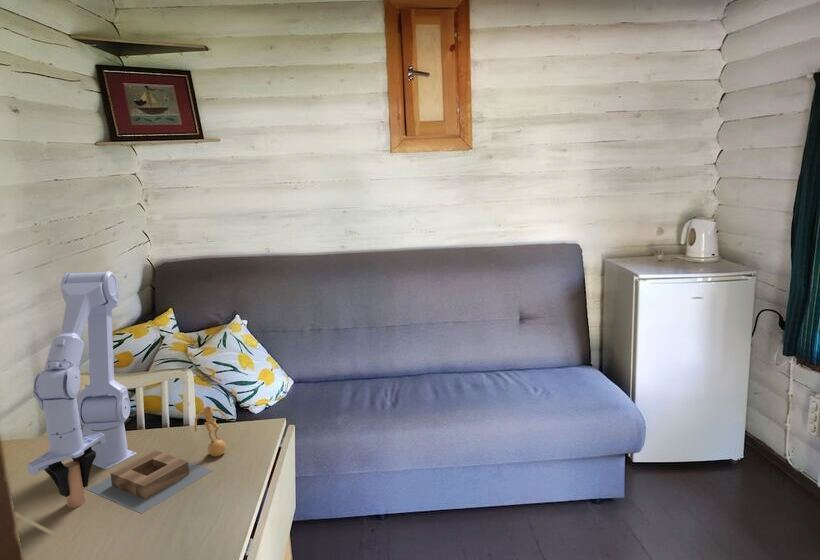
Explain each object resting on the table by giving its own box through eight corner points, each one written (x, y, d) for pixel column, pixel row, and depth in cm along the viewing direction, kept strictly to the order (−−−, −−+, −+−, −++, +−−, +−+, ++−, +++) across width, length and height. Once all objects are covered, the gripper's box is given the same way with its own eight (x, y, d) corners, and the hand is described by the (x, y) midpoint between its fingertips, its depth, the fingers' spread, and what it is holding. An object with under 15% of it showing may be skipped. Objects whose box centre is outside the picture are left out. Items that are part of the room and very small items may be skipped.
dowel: (64, 507, 120) (57, 466, 118) (79, 499, 123) (73, 459, 121) (73, 511, 119) (67, 470, 117) (89, 503, 121) (82, 463, 119)
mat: (86, 491, 126) (86, 489, 126) (159, 453, 141) (159, 451, 141) (141, 515, 117) (141, 513, 117) (213, 472, 132) (213, 470, 132)
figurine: (206, 465, 135) (200, 416, 132) (192, 457, 139) (186, 409, 136) (237, 451, 141) (233, 404, 138) (223, 443, 145) (219, 397, 142)
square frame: (112, 485, 127) (110, 472, 126) (156, 461, 136) (155, 449, 135) (145, 499, 121) (143, 486, 121) (189, 474, 131) (188, 461, 130)
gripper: (37, 448, 109) (49, 514, 112) (110, 417, 121) (119, 477, 124) (16, 440, 113) (28, 504, 116) (90, 410, 125) (98, 469, 128)
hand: (74, 490), depth 120 cm, fingers closed on dowel, 3 cm apart
